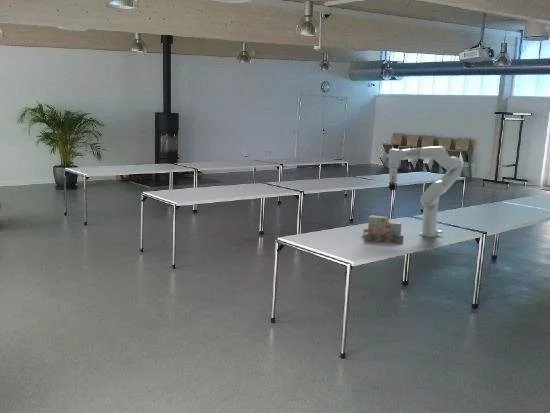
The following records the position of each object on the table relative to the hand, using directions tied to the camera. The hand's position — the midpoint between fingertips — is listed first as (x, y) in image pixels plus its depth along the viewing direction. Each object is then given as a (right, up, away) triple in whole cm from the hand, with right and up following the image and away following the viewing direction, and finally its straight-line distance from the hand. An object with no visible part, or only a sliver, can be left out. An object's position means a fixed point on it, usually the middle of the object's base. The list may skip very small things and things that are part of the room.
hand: (392, 189), depth 396 cm
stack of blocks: (-11, -33, -26) cm, 43 cm away
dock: (-12, -35, -26) cm, 46 cm away
